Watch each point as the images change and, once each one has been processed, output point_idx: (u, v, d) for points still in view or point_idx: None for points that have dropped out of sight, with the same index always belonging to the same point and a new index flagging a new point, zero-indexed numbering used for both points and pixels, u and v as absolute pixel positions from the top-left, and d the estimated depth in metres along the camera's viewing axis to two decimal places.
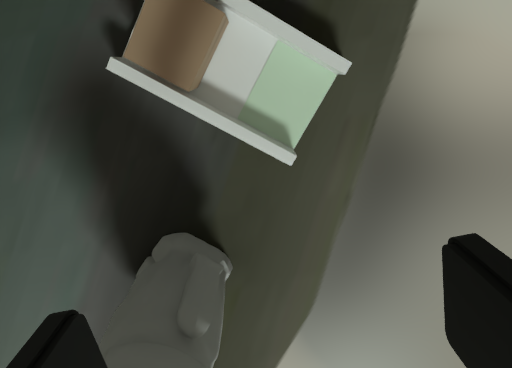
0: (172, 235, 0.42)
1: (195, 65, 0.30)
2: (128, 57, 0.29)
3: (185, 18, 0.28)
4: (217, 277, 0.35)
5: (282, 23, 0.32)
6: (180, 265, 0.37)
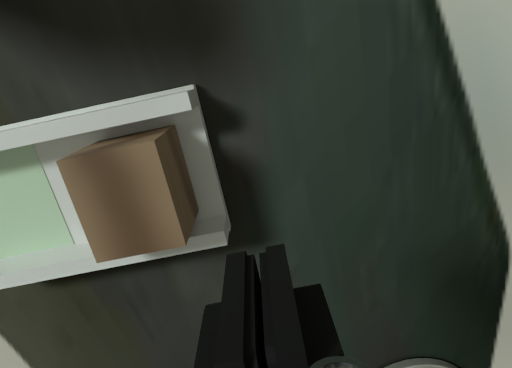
0: None
1: (76, 194, 0.21)
2: (147, 144, 0.20)
3: (126, 229, 0.22)
4: None
5: (66, 274, 0.27)
6: None
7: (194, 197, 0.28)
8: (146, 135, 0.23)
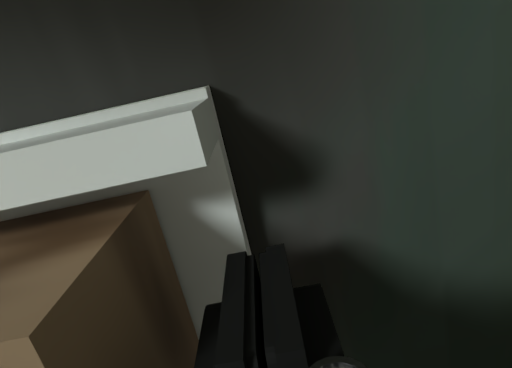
0: None
1: None
2: (4, 350, 0.05)
3: None
4: None
5: None
6: None
7: None
8: (53, 246, 0.08)
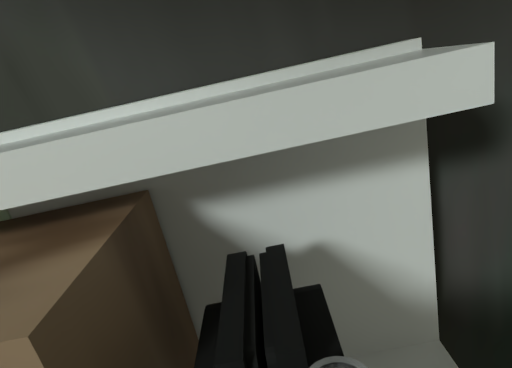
0: None
1: None
2: (3, 350, 0.05)
3: None
4: None
5: None
6: None
7: None
8: (53, 246, 0.08)
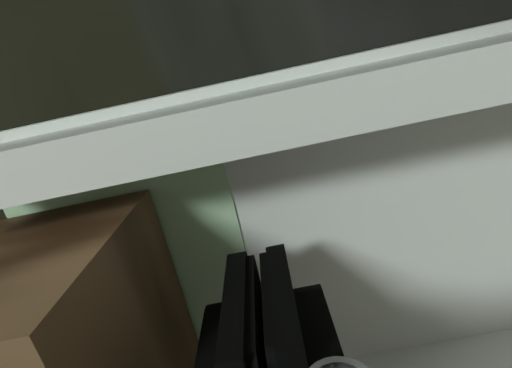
0: None
1: None
2: (4, 349, 0.05)
3: None
4: None
5: None
6: None
7: None
8: (53, 245, 0.08)
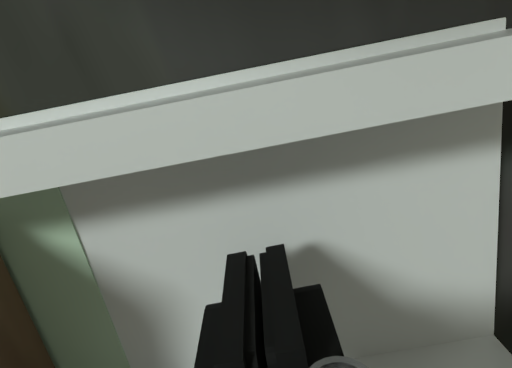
0: None
1: None
2: None
3: None
4: None
5: None
6: None
7: None
8: None
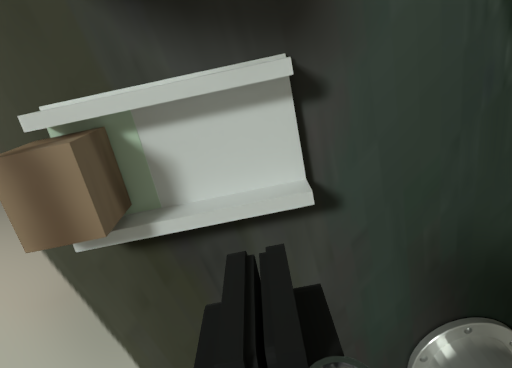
0: None
1: (2, 191, 0.24)
2: (63, 146, 0.23)
3: (50, 222, 0.24)
4: None
5: (162, 232, 0.29)
6: None
7: (126, 193, 0.30)
8: (71, 137, 0.26)
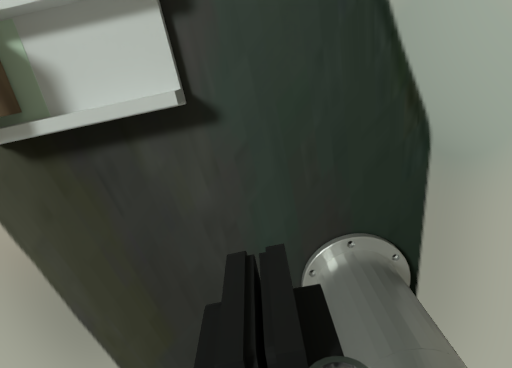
0: None
1: None
2: None
3: None
4: None
5: (42, 131, 0.32)
6: None
7: (14, 99, 0.33)
8: None
